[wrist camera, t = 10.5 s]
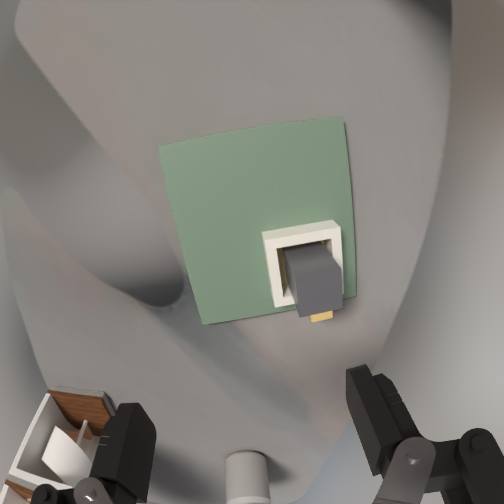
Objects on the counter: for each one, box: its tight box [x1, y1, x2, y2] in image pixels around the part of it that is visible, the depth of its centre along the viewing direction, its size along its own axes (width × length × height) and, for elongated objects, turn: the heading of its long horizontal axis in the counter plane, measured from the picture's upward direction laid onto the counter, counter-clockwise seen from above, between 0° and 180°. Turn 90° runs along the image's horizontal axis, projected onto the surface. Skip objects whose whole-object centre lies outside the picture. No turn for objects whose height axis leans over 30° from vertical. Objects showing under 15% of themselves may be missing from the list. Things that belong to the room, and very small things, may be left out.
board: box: [158, 117, 356, 325], centre depth 31 cm, size 20×18×4 cm
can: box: [225, 451, 271, 504], centre depth 43 cm, size 8×8×12 cm
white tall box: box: [0, 385, 116, 504], centre depth 26 cm, size 11×11×35 cm
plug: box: [282, 241, 343, 323], centre depth 30 cm, size 5×4×7 cm
